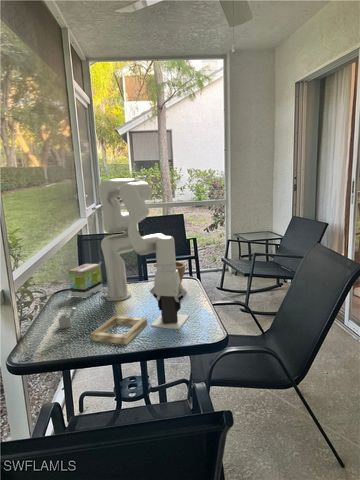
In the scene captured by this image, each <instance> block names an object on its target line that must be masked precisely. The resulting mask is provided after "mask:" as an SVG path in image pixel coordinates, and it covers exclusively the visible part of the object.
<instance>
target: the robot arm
mask: <svg viewBox="0 0 360 480" xmlns="http://www.w3.org/2000/svg"><path fill="white" fill-rule="evenodd" d="M98 195H99V199H100V201H101V205H102V206H101V207H102V224H103V230H104V232H105V233H106V234H113V235H108V236H105V237H104V238H103V239H102V240H101V243H100V247H101V250H102V255H103V259H104V264H105V273H106V282H107V287H102V288H103V289H102V290H101V291H102V294H105V293H106V295H105V299H106V300H107V301H109V302H118V301H124V300H128V299H129V298H130V297H131V296H132V294H131V292H130V291H129V290H128V285H127V284H128V283H127V274H126V263H125V260H124V259H123V258H122V257H121V254H125V253H128V252H133V251H135V252H136V254H138V255H139V256H144V255H149V254H153V253H155V258H156V263H154V264H153V268H156V270H155V271H154V281H153V283H154V284H153V285H154V286H153V287H152V288H151V289H150V290H149V292H150V294H152V295H153V297H154V298H155V300H156V301H157V307H158V310H159V311H161V310H162V303H161V296H169V297H174V298H175V300H176V302H175V308H176V311H177V313H178V312H179V311H180V310H181V308H182V306H181V301H182V300H183V298H184V297H185V296H186V295H187V294H188V291H187V290H186V289H184V287H183V286H182V287H183V288H182V287H181V285H182V282H181V283H180V277H179V273H178V270H176V262H177V261H176V247H175V238H174V236H171V235H165V234H163V233H161V232H160V233H159V232H158V233H152V234H146V235H142V236H141V234H140V232H139V230H138V224H139V223H141V222H142V221H143V220H145V219H146V218H147V217H148V216H149V214H150V209H149V207H148V205H147V203H146V202H145V201H148V200H150V199H151V198H152V196H153V190H152V188H151V185H150V184H149V183H148V182H146V181H144V180H141V179H137V178H133V177H128V178H126V177H125V178H110V179H104V180H102V181H101V182H100V184H99V186H98ZM118 198H120V199H121V200H122V203H123V204H124V207H125V209H126V211H121V209H122V207H121V203H120V201H119V199H118ZM116 233H120V234H116ZM180 293H181V295H180Z"/></svg>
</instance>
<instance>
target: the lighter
mask: <svg viewBox="0 0 360 480" xmlns="http://www.w3.org/2000/svg"><path fill="white" fill-rule="evenodd" d="M71 308H72V309H71V311H70V314H69V315H68V314H67V313H66V314H63V313H62V314H61V315H60V316H59V317H58V323H59V324H58V325H59V329H65V328H71V326H72V323H71V322H72V321H71V318H72V319H73V318H74V315H75V312H76V309H77V307H75V306H72V307H71Z"/></svg>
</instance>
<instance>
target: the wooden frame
mask: <svg viewBox="0 0 360 480" xmlns="http://www.w3.org/2000/svg"><path fill="white" fill-rule="evenodd" d="M118 324H119V325H127V326H128V325H129V326H132V327H131V328H129V330H128V331H127V332H126V333H125V334H120V333H119V334H118V333H110V332H108V331H110V330H111V329H112V328H113V327H114V326H115V325H118ZM147 325H148V319H147V318H145V317H134V316H122V315H112V317H110V318H109V319H108V320H107V321H105V322H104V323H103V324H101V325H100V326H99V327H98V328H96V329H95V330H93V331H92V332H91V333H90V334H89V335H90V340H91V341H95V342H103V343H111V344H118V345H128V344H129V343H130V342H131V341H132V340H133V339H134V338H135V337H136V336H137V335H138V334H139V333H140V332H141V331H142V330H143V329H144V328H145V327H146V326H147ZM107 332H108V333H107Z"/></svg>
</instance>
